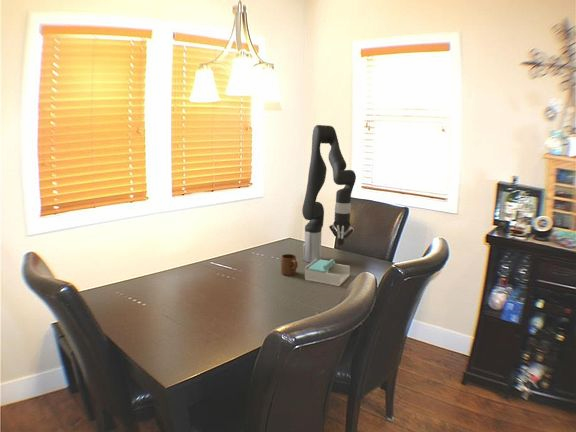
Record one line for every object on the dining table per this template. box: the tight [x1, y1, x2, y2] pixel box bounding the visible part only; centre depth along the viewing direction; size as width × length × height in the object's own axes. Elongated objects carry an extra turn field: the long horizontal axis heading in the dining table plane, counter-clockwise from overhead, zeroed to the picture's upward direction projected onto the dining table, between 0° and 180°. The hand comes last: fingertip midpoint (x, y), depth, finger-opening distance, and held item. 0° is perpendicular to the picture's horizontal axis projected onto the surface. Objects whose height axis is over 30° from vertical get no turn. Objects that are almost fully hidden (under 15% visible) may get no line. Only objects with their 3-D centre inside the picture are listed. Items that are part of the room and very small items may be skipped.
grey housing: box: [304, 259, 351, 287], centre depth 225 cm, size 18×15×6 cm
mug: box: [280, 253, 299, 277], centre depth 228 cm, size 12×8×9 cm, turn 30°
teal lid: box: [308, 258, 336, 272], centre depth 225 cm, size 8×15×3 cm, turn 154°
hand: (340, 245), depth 220 cm, fingers closed
